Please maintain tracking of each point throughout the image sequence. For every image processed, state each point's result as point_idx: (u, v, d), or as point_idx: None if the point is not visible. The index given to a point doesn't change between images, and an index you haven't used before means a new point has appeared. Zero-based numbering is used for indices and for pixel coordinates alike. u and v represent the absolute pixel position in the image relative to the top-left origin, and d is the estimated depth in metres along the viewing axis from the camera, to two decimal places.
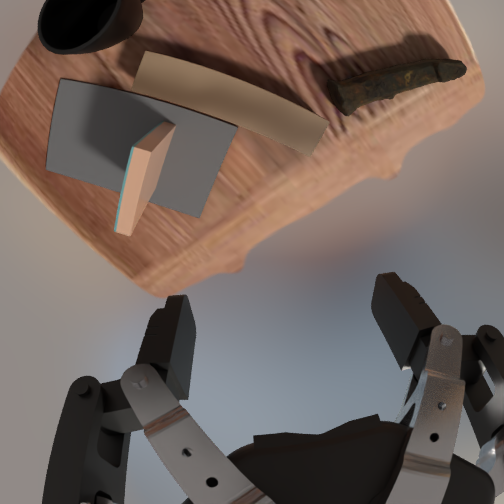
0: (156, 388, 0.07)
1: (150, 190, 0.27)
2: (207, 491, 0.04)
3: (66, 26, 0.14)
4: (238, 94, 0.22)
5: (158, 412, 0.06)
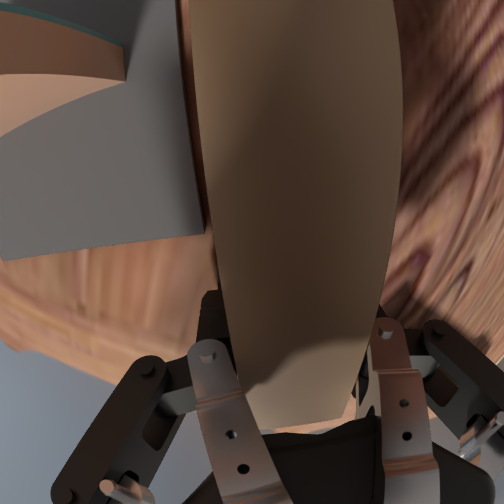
0: (227, 360, 0.08)
1: None
2: (235, 476, 0.04)
3: None
4: (341, 244, 0.06)
5: (216, 389, 0.07)
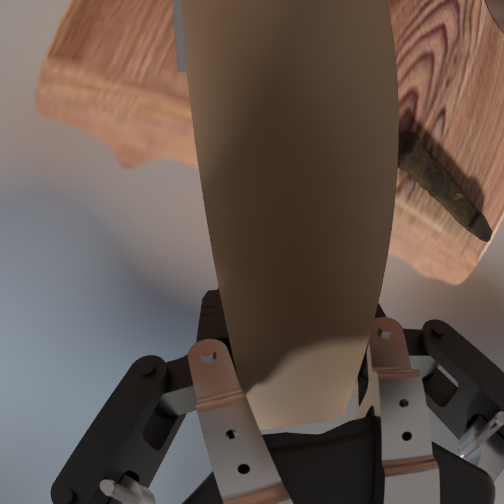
0: (228, 360, 0.08)
1: None
2: (235, 476, 0.04)
3: None
4: (339, 242, 0.06)
5: (217, 389, 0.07)
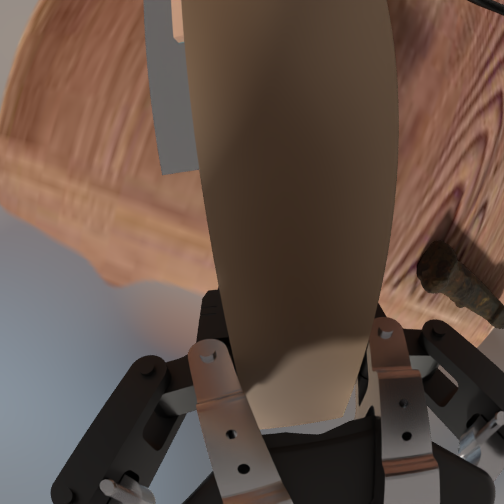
0: (228, 360, 0.08)
1: None
2: (235, 476, 0.04)
3: None
4: (339, 243, 0.06)
5: (217, 389, 0.07)
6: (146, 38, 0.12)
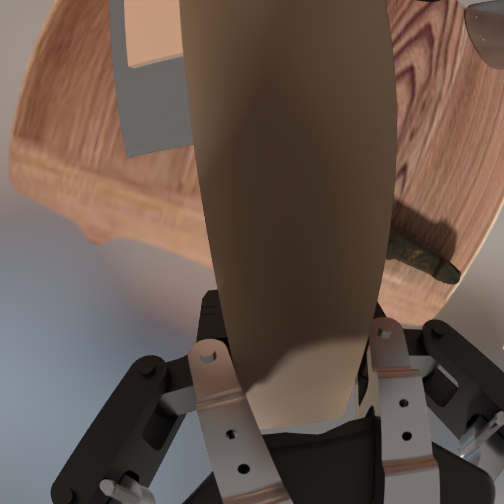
0: (228, 360, 0.08)
1: (144, 19, 0.15)
2: (235, 476, 0.04)
3: None
4: (336, 242, 0.06)
5: (217, 389, 0.07)
6: (113, 66, 0.18)
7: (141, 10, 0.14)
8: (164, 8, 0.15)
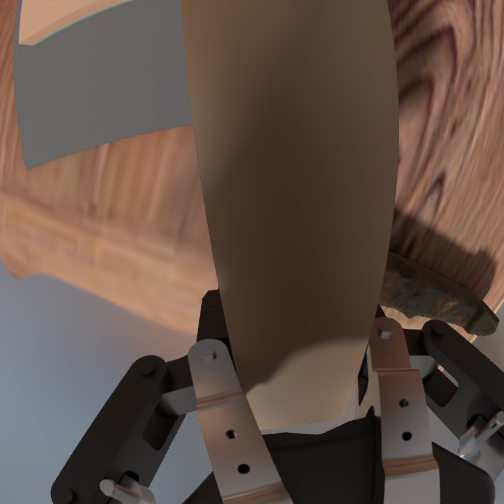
0: (228, 360, 0.08)
1: None
2: (235, 476, 0.04)
3: None
4: (338, 244, 0.06)
5: (217, 389, 0.07)
6: (14, 48, 0.08)
7: None
8: None
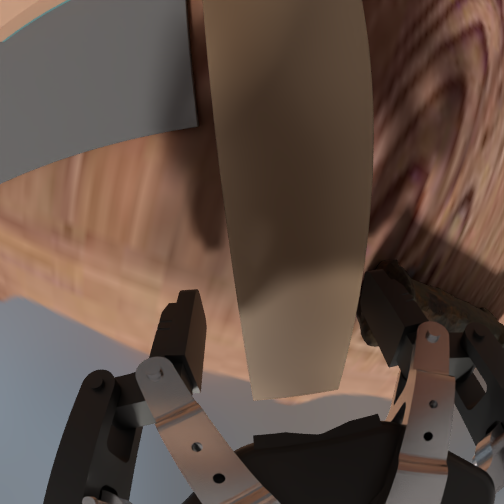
0: (172, 380, 0.07)
1: None
2: (213, 487, 0.04)
3: None
4: (326, 219, 0.07)
5: (171, 405, 0.06)
6: None
7: None
8: None
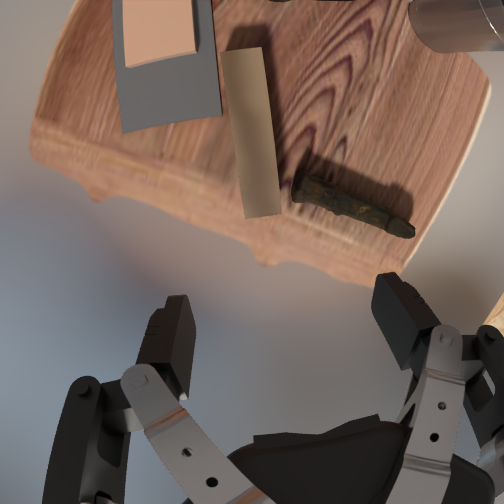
0: (156, 388, 0.07)
1: (137, 32, 0.21)
2: (207, 491, 0.04)
3: None
4: (260, 136, 0.26)
5: (158, 412, 0.06)
6: (115, 66, 0.24)
7: (135, 25, 0.21)
8: (151, 24, 0.21)
